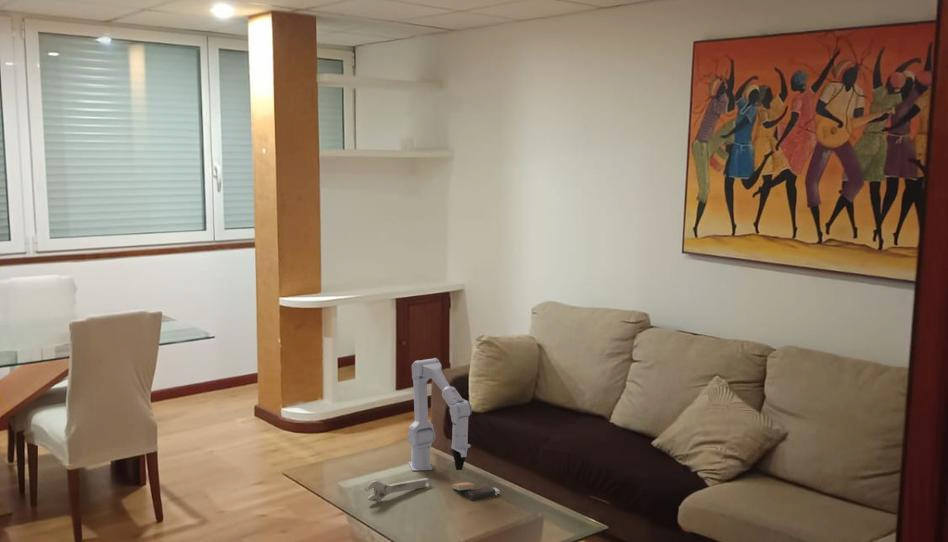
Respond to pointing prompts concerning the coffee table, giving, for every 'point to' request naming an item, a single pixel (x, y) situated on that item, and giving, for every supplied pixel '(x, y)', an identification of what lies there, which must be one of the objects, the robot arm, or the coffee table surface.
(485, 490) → the usb drive
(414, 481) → the wrench
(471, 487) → the tile
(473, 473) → the coffee table surface
